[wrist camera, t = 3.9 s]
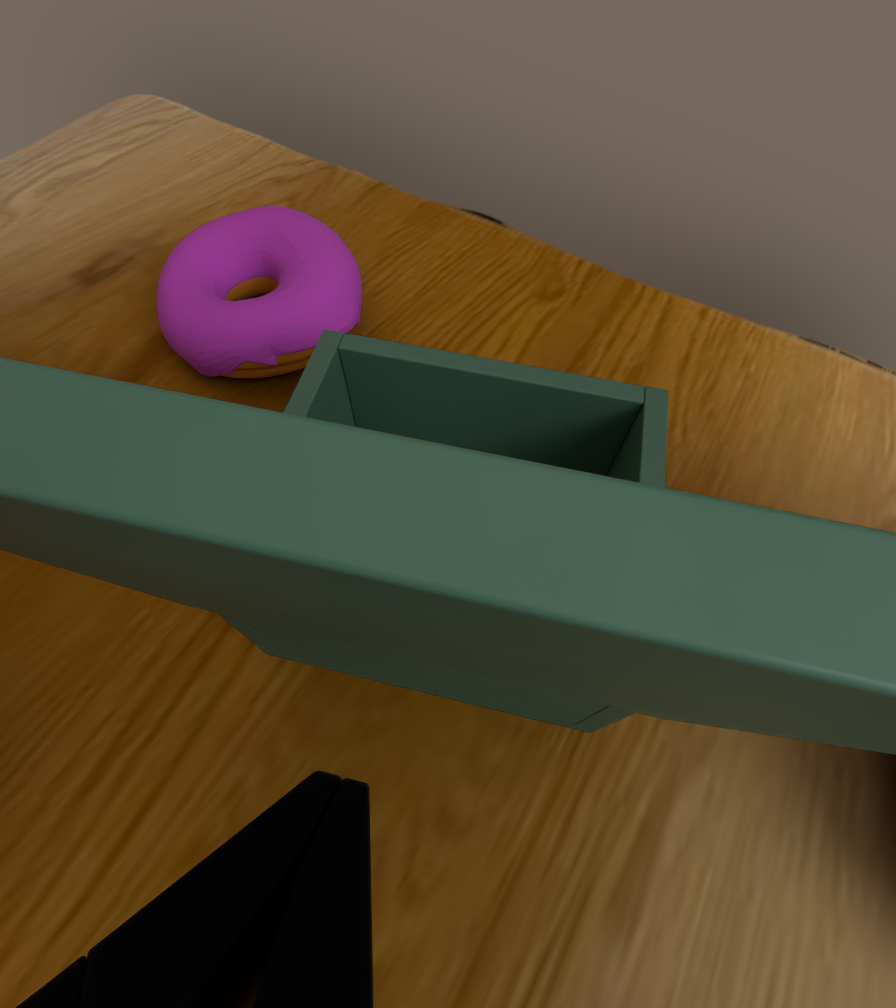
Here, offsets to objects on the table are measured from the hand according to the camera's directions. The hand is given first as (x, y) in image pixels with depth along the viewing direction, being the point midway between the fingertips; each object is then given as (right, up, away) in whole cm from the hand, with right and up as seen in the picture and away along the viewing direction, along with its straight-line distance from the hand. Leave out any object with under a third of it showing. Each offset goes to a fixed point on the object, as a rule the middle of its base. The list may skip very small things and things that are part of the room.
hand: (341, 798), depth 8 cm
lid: (+1, +3, 0) cm, 3 cm away
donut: (-8, +14, +21) cm, 27 cm away
